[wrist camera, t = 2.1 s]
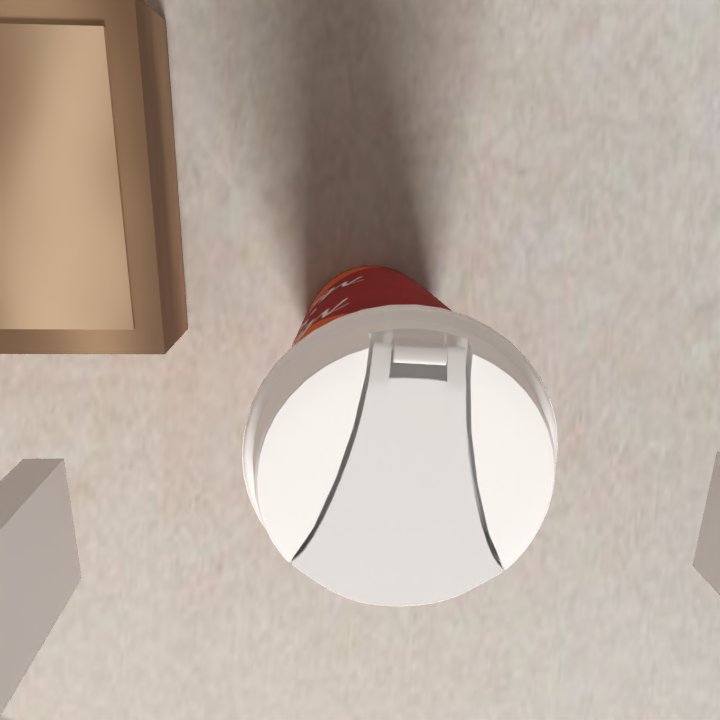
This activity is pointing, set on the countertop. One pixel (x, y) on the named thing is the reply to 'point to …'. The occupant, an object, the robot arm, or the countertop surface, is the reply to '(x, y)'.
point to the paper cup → (399, 445)
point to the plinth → (87, 181)
